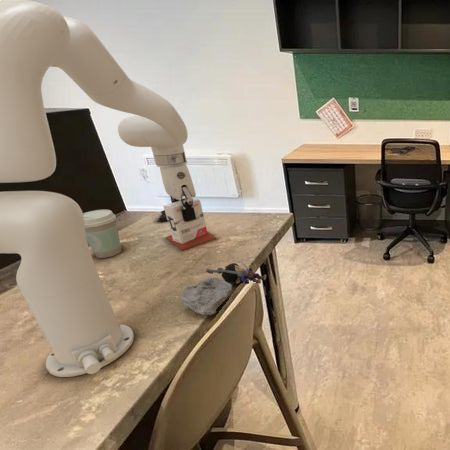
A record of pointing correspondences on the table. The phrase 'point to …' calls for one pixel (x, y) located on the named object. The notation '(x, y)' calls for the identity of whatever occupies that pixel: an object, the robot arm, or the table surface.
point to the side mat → (192, 241)
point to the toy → (238, 274)
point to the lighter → (162, 217)
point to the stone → (206, 295)
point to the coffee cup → (102, 233)
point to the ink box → (183, 229)
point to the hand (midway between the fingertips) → (185, 217)
